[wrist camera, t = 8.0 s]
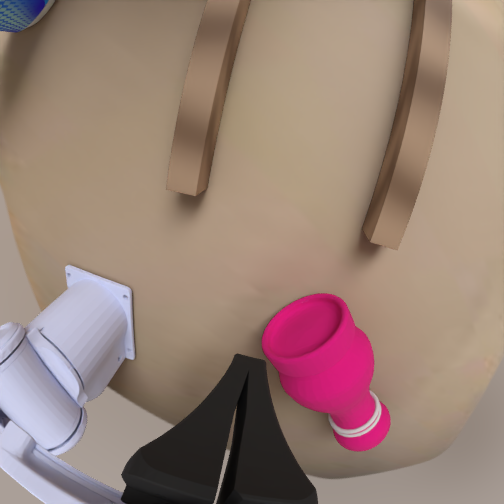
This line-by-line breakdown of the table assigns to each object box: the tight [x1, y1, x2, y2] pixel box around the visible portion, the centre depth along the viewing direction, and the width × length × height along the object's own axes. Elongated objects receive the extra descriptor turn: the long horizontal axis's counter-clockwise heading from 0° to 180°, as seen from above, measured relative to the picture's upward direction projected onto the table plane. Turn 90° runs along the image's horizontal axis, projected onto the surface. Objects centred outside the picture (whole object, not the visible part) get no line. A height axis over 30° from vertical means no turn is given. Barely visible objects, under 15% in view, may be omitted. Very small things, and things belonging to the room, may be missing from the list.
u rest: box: [166, 0, 452, 250], centre depth 13 cm, size 24×15×2 cm, turn 167°
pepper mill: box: [262, 294, 390, 451], centre depth 21 cm, size 7×7×20 cm
